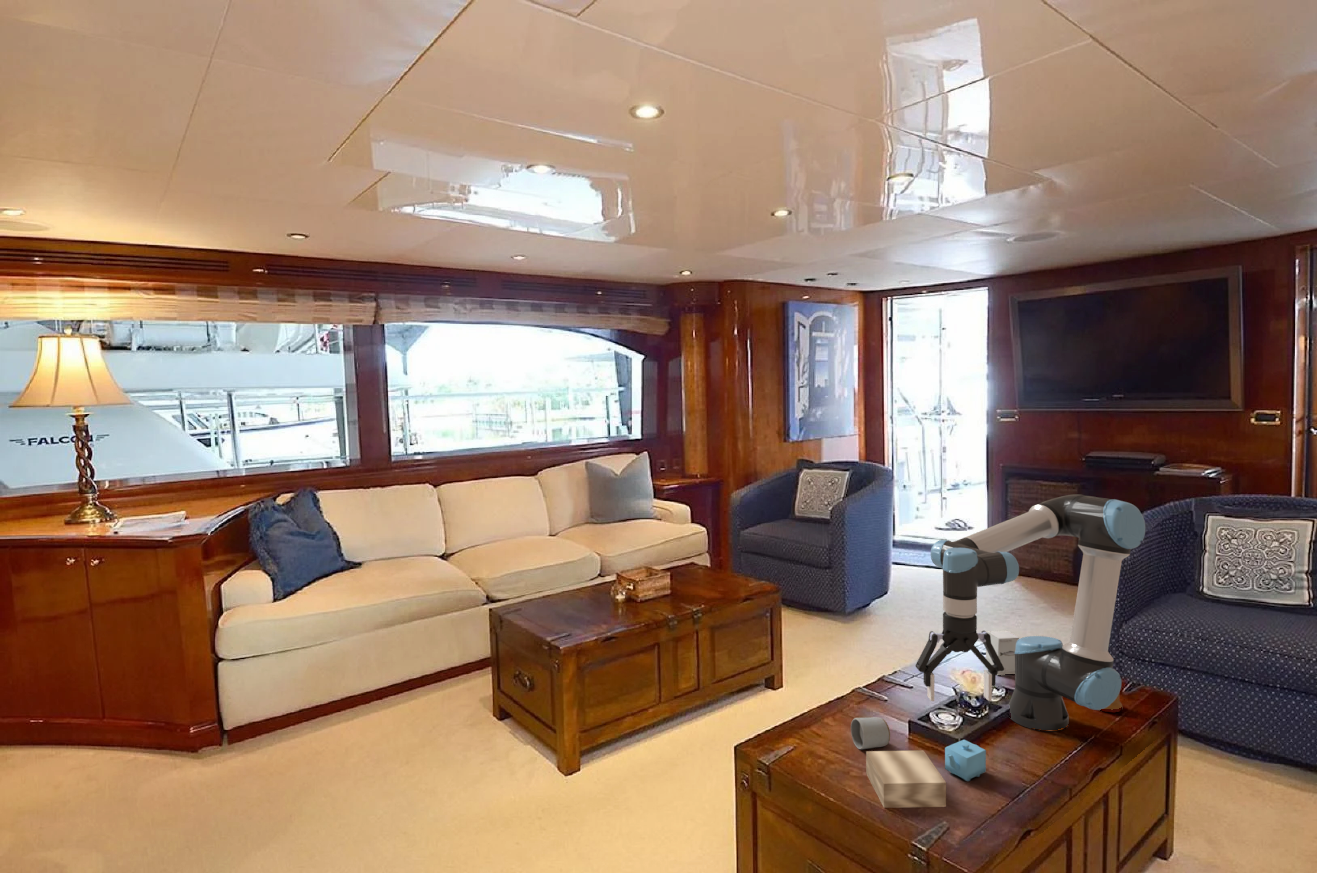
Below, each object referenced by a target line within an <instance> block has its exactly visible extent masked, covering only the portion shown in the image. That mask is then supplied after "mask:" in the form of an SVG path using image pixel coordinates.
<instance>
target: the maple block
mask: <svg viewBox="0 0 1317 873" xmlns="http://www.w3.org/2000/svg"><path fill="white" fill-rule="evenodd" d="M865 756H866V757H865V762H866V763H865V768H866V769H865V770H866V771H865V772H866V775H867V778H868V780H869V782H870V784H871V786H872V788H873V789H874V792H875V793H876V795H877V797H878V799H879V801H880V803H881V805H882V807H883V809H885V808H886V809H889V808H892V809H893V808H894V809H895V808H944V807H947V782H946V780H945V779H944V778H943V776H942V774H941V773H940V771H939V770H938V769H937V768H936V766H935V765H934V763H933V762H932V760H931V759H930V758H929V756H928V755H927V753H926V752H925V750H922V749H921V750H874V751H873V750H871V751H870V750H869V751H865Z"/></svg>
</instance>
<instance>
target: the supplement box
mask: <svg viewBox="0 0 1317 873" xmlns="http://www.w3.org/2000/svg"><path fill="white" fill-rule="evenodd" d="M986 632H987V633H988V634H989V635H990V637H991V644H992V646H993V647H994V649H995V651H996V653H997V655H998V657H999V659H1000V661H1001V663H1002V665H1003V667H1004V670H1003V671H998V674H997V675H1001V676H1006V675H1005V674H1015V650H1016V642H1017V641H1018V640H1019V639H1020V637H1019V636H1018V635H1016V634H1015V633H1012V632H1011V631H1009V630H1006V629H1005V630H990V631H989V630H987V631H986ZM985 658H986V659H987V660H988V662H989V663H990V664H991V665H994V663H993V661H992V659H991V657H990V655H989V653H988V651H987V650H986V649H985ZM997 675H996V676H997Z"/></svg>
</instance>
